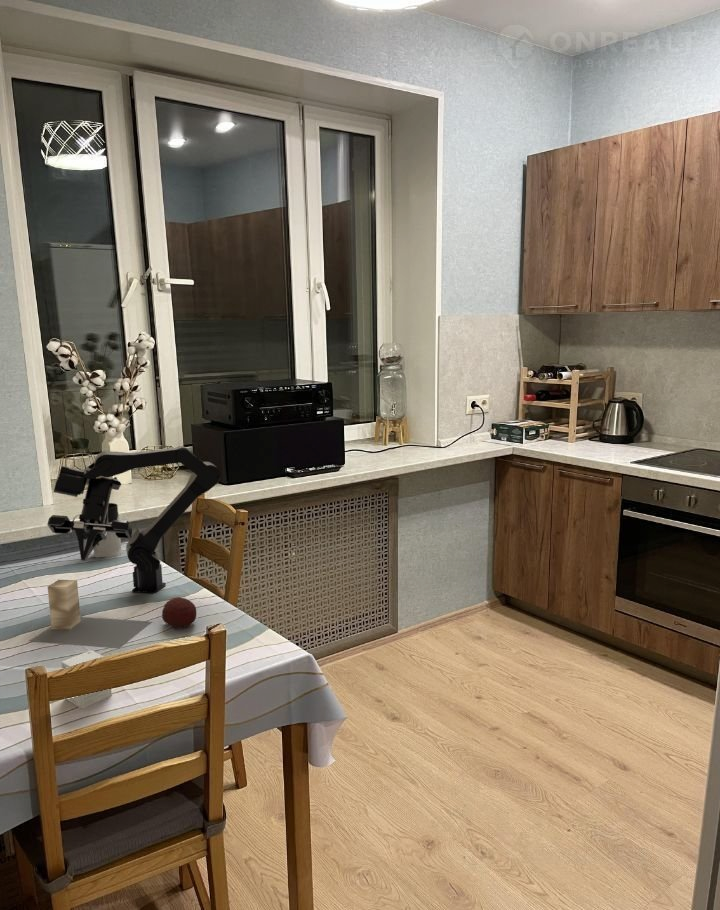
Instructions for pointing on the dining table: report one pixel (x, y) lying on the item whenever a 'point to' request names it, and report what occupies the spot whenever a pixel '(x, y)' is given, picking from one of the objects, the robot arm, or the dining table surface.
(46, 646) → the dining table surface
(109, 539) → the glass holder
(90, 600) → the dining table surface
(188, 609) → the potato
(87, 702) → the product box
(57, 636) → the charcoal rubber mat
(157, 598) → the dining table surface
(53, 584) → the birch block
